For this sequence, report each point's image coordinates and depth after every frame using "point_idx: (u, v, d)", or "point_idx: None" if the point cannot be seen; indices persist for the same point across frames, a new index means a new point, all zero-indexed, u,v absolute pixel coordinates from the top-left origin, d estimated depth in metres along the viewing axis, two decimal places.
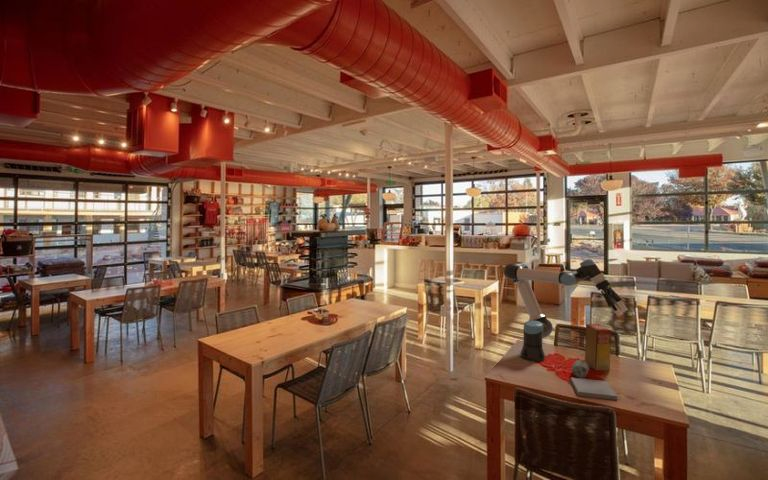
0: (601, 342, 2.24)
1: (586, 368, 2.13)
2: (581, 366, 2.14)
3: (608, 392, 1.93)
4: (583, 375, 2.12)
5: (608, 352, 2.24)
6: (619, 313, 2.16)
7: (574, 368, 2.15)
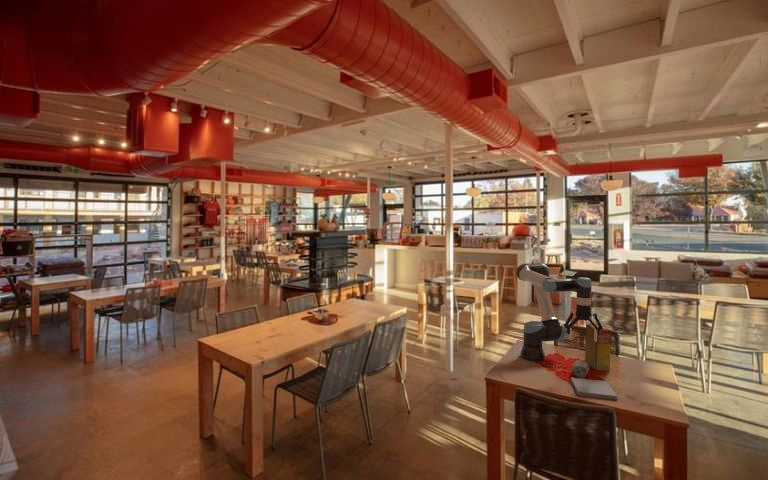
0: (601, 342, 2.24)
1: (586, 368, 2.13)
2: (581, 366, 2.14)
3: (608, 392, 1.93)
4: (583, 375, 2.12)
5: (608, 352, 2.24)
6: (569, 337, 2.19)
7: (574, 368, 2.15)
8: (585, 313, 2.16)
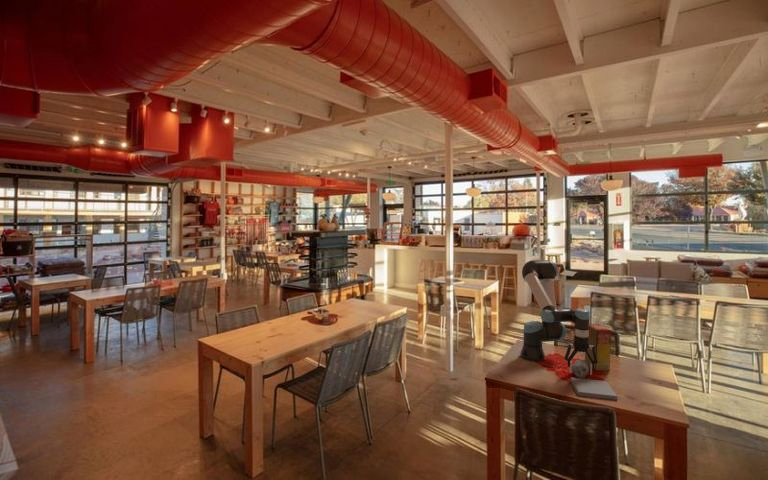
0: (601, 342, 2.24)
1: (586, 368, 2.13)
2: (581, 366, 2.14)
3: (608, 392, 1.93)
4: (583, 375, 2.12)
5: (608, 352, 2.24)
6: (569, 370, 2.20)
7: (574, 368, 2.15)
8: (583, 344, 2.16)
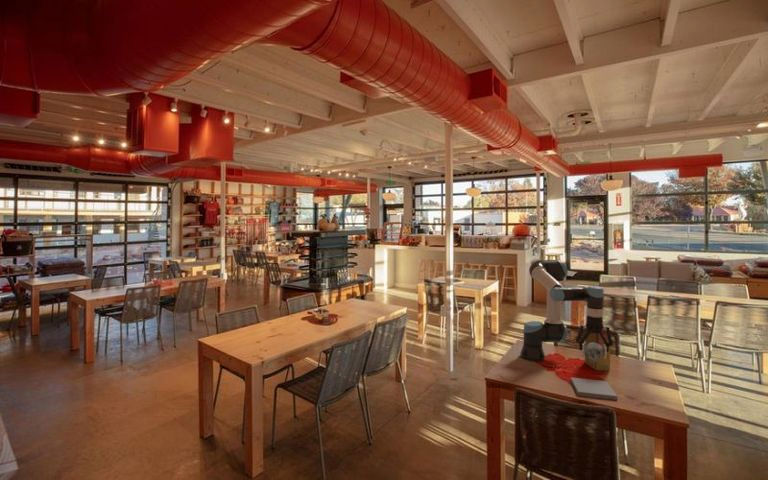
0: (601, 342, 2.24)
1: (600, 351, 1.94)
2: (595, 348, 1.94)
3: (608, 392, 1.93)
4: (597, 358, 1.93)
5: (608, 352, 2.24)
6: (582, 353, 2.01)
7: (587, 351, 1.96)
8: (597, 325, 1.97)
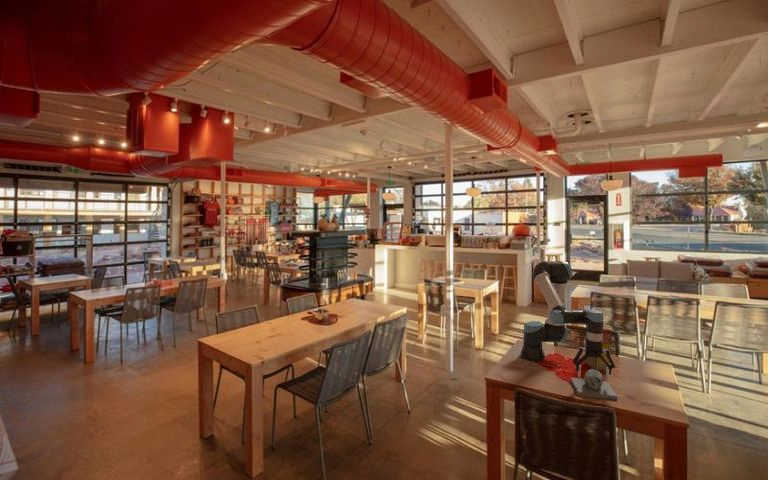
0: None
1: (600, 379, 1.95)
2: (595, 377, 1.94)
3: (608, 392, 1.93)
4: (597, 387, 1.93)
5: None
6: (578, 375, 2.01)
7: (587, 379, 1.96)
8: (596, 349, 1.97)
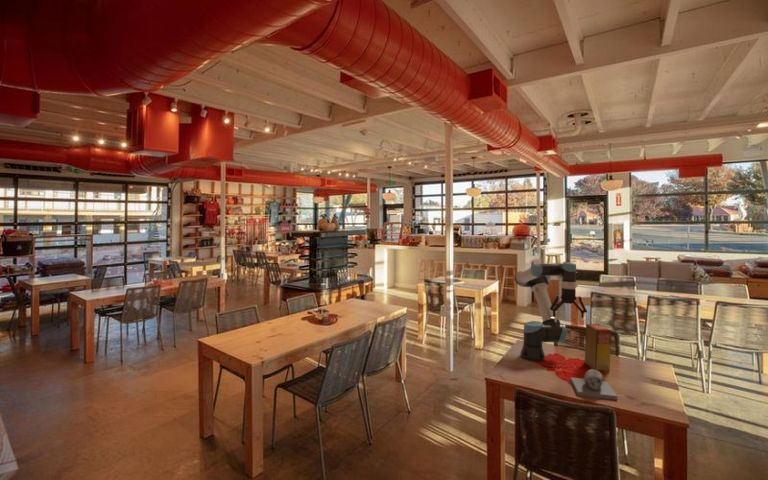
0: (601, 342, 2.24)
1: (600, 379, 1.95)
2: (595, 377, 1.94)
3: (608, 392, 1.93)
4: (597, 387, 1.93)
5: (608, 352, 2.24)
6: (555, 320, 2.28)
7: (587, 379, 1.96)
8: (570, 296, 2.24)
